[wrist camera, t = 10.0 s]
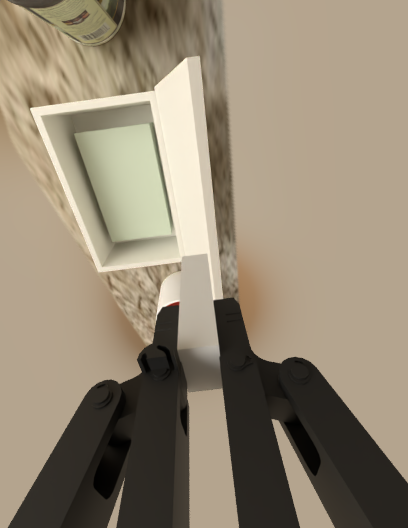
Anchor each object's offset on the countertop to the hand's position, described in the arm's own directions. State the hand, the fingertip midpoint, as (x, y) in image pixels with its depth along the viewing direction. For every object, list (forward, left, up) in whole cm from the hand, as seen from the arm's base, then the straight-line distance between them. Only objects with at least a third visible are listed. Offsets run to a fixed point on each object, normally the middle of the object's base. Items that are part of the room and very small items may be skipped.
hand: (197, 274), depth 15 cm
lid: (+1, -1, -13) cm, 13 cm away
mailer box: (+6, -8, -30) cm, 31 cm away
